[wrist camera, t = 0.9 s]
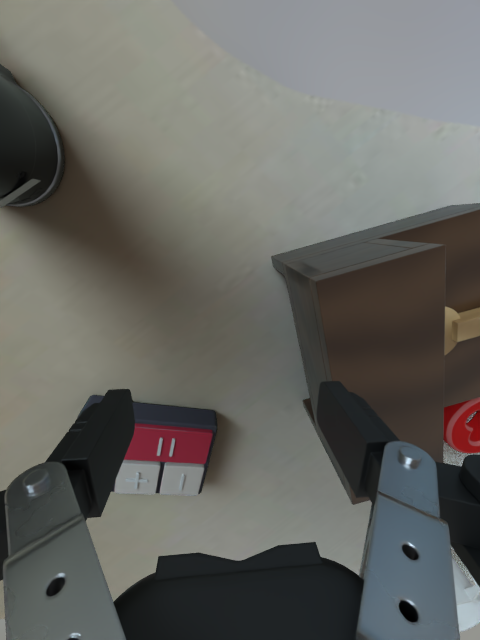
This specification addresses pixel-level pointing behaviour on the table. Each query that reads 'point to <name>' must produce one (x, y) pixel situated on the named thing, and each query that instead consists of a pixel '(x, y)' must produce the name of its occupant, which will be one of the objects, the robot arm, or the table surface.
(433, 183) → the table surface
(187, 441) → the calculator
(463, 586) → the cup
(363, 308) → the shelf
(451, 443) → the decorative ornament
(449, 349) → the spoon
